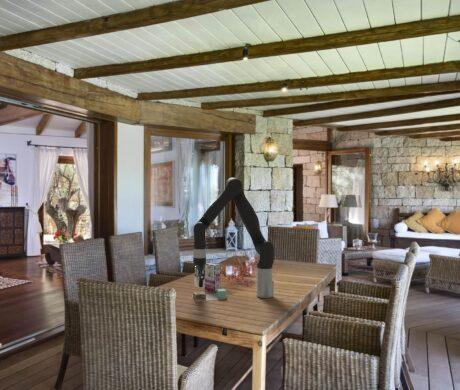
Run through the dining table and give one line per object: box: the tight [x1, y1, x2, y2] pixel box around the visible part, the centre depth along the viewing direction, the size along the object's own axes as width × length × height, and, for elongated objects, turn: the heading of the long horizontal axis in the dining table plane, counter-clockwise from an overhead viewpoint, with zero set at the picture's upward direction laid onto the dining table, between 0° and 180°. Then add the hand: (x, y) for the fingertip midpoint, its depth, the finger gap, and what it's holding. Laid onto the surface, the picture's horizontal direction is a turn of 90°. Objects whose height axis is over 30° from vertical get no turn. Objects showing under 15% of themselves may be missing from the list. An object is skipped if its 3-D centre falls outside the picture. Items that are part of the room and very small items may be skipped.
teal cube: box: [216, 288, 227, 300], centre depth 234 cm, size 4×4×4 cm
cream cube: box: [193, 276, 205, 289], centre depth 232 cm, size 5×5×5 cm
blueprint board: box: [191, 292, 226, 302], centre depth 234 cm, size 18×13×1 cm
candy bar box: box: [203, 262, 222, 292], centre depth 254 cm, size 11×5×16 cm, turn 40°
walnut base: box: [192, 291, 207, 300], centre depth 232 cm, size 6×6×3 cm
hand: (199, 285), depth 232 cm, fingers closed on cream cube, 5 cm apart
